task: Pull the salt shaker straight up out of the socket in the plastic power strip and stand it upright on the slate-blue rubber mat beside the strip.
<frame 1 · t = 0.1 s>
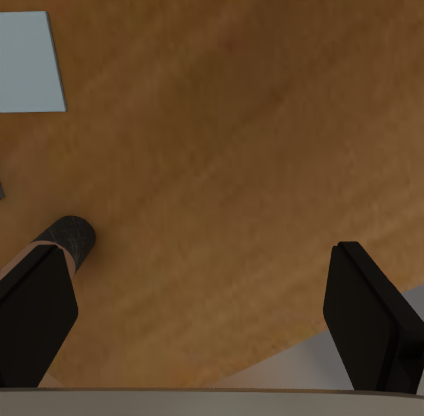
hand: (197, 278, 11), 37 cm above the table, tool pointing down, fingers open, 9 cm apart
rubber mat: (14, 65, 42), on the table
travel mug: (75, 234, 53), on the table
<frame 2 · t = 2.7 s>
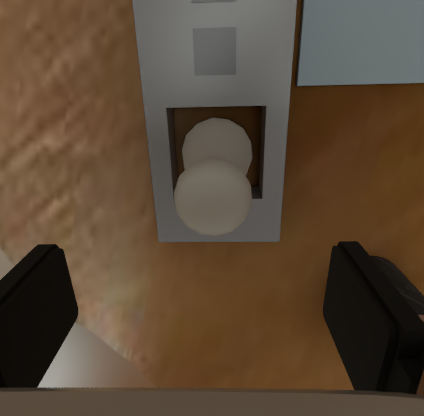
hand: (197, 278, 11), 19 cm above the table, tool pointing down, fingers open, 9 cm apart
salt shaker: (217, 146, 28), resting in power strip
travel mug: (364, 282, 34), on the table
power strip: (216, 87, 26), on the table
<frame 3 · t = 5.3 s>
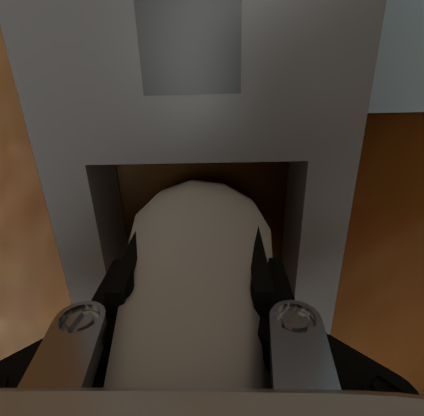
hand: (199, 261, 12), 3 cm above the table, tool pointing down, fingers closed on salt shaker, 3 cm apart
salt shaker: (203, 221, 15), resting in power strip, touching gripper
power strip: (199, 115, 13), on the table
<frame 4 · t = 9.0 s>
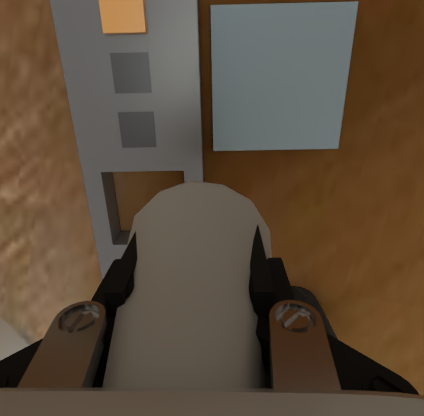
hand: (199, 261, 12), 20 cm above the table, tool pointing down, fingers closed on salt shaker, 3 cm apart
salt shaker: (202, 222, 15), point 17 cm above the table, touching gripper
rubber mat: (278, 82, 28), on the table
travel mug: (289, 308, 39), on the table
power strip: (147, 150, 31), on the table
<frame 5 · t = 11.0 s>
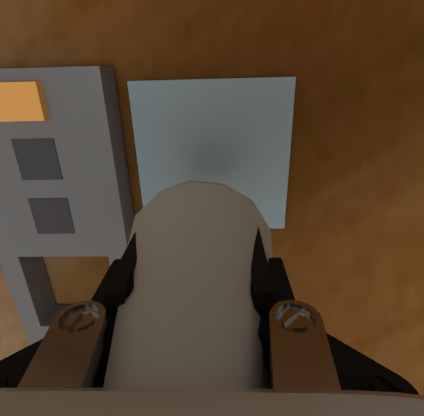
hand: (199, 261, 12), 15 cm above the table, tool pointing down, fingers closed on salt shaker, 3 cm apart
salt shaker: (203, 222, 15), point 11 cm above the table, touching gripper
rubber mat: (213, 159, 25), on the table
power strip: (75, 226, 28), on the table
when the fingers open (6 cm above the table, at t = 12.8 s): salt shaker drops 2 cm, resting on rubber mat.
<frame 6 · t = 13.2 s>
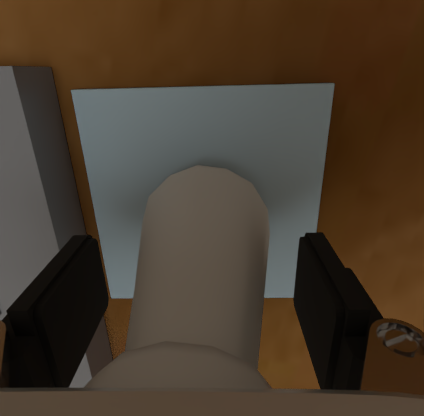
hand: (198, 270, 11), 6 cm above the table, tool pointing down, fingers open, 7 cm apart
salt shaker: (208, 205, 17), resting on rubber mat
rubber mat: (205, 203, 17), on the table
power strip: (13, 292, 20), on the table
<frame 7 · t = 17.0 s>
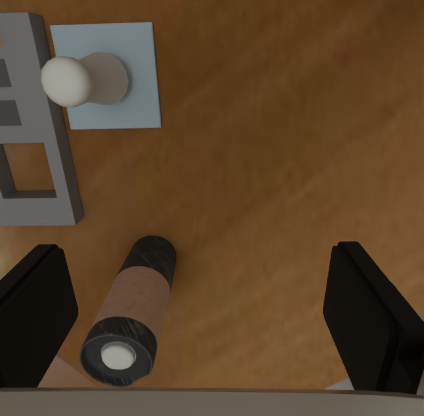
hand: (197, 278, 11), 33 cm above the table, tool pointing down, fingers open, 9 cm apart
salt shaker: (110, 78, 39), resting on rubber mat
rubber mat: (110, 79, 39), on the table
travel mug: (154, 254, 50), on the table
power strip: (25, 129, 42), on the table
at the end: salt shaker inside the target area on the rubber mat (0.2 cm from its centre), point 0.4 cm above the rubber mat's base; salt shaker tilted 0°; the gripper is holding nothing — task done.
